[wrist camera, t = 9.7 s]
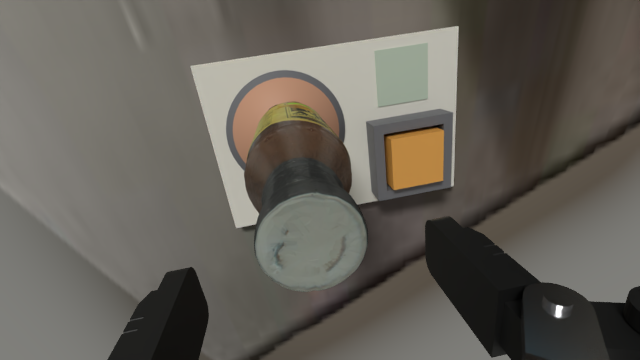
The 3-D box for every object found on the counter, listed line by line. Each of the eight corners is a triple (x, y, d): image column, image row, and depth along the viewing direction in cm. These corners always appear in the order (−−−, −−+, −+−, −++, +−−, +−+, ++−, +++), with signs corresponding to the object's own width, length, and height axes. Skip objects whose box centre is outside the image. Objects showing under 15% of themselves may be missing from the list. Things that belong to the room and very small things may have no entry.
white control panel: (451, 27, 29) (474, 23, 26) (447, 181, 35) (466, 194, 32) (193, 65, 27) (182, 66, 24) (237, 222, 33) (233, 240, 30)
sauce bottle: (335, 138, 30) (436, 263, 11) (284, 175, 30) (302, 351, 12) (295, 82, 27) (343, 127, 9) (241, 124, 28) (182, 246, 10)
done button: (433, 126, 30) (444, 130, 28) (433, 173, 32) (443, 180, 30) (383, 134, 29) (391, 139, 27) (386, 182, 31) (393, 190, 29)
